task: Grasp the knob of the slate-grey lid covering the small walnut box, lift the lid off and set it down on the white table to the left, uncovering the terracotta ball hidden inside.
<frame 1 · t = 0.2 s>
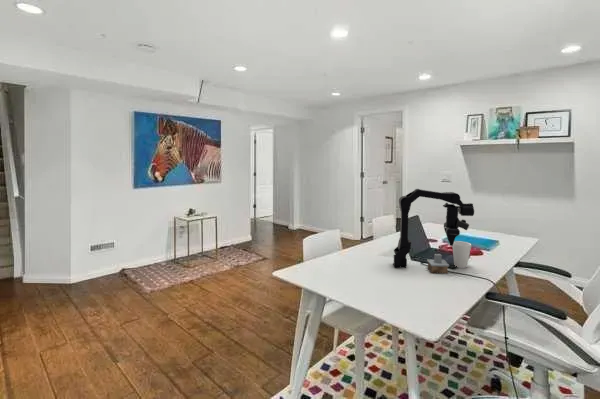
hand: (450, 243, 184), 14 cm above the table, fingers open, 9 cm apart
lid: (437, 263, 181), point 4 cm above the table, touching walnut box
foam cup: (460, 266, 189), on the table
ball: (437, 267, 181), point 2 cm above the table, touching walnut box
walnut box: (437, 270, 181), on the table
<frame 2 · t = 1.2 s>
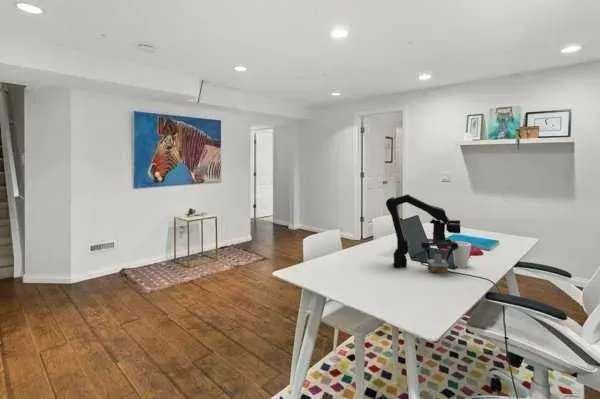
hand: (437, 260, 181), 6 cm above the table, fingers open, 9 cm apart
nothing on the table moved.
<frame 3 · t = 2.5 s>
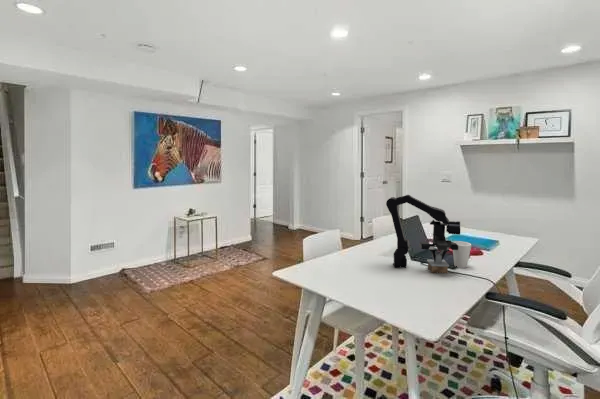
hand: (437, 261, 181), 5 cm above the table, fingers closed on lid, 3 cm apart
lid: (437, 263, 181), point 4 cm above the table, touching gripper, walnut box
everything else where it was.
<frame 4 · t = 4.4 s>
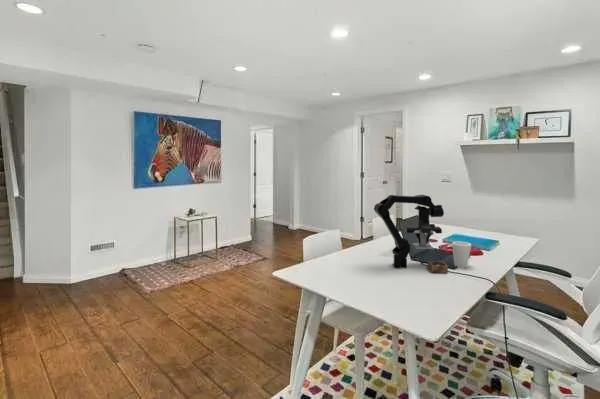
hand: (422, 244, 189), 12 cm above the table, fingers closed on lid, 3 cm apart
lid: (422, 246, 190), point 11 cm above the table, touching gripper
everything else where it was.
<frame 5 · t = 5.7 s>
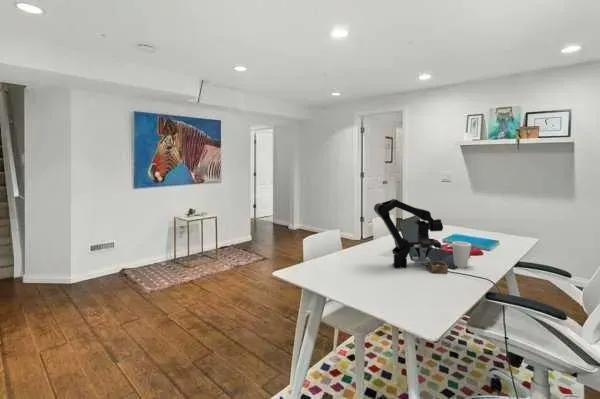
hand: (422, 258, 190), 4 cm above the table, fingers closed on lid, 3 cm apart
lid: (421, 260, 191), point 3 cm above the table, touching gripper
everything else where it was.
when the fingers open (2 cm above the table, at t = 6.7 s): lid drops 2 cm, on the table.
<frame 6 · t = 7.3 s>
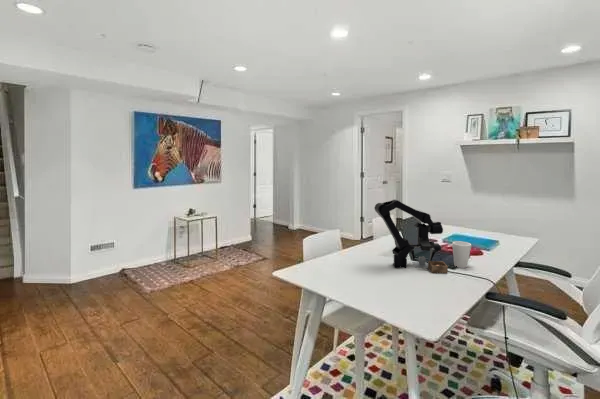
hand: (422, 261, 191), 2 cm above the table, fingers open, 9 cm apart
lid: (421, 266, 191), on the table
everything else where it was.
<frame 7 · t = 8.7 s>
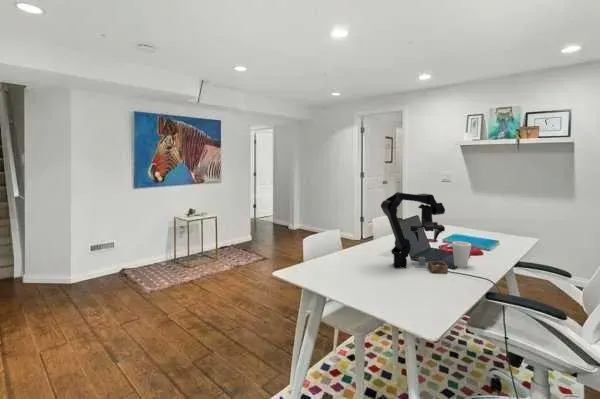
hand: (426, 242, 193), 12 cm above the table, fingers open, 9 cm apart
nothing on the table moved.
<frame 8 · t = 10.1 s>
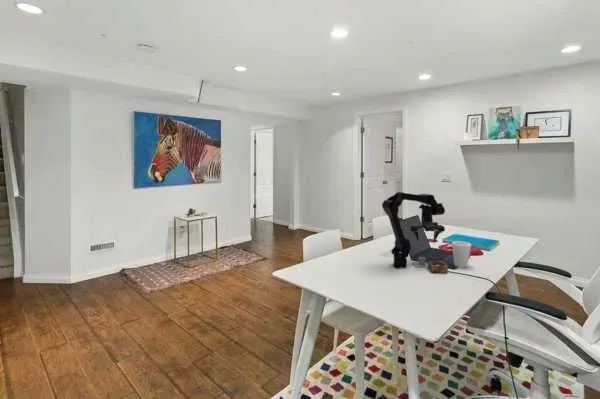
hand: (425, 242, 194), 12 cm above the table, fingers open, 9 cm apart
nothing on the table moved.
at the end: lid inside the target area (0.0 cm from its centre), on the table; lid touching table; the gripper is holding nothing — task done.
